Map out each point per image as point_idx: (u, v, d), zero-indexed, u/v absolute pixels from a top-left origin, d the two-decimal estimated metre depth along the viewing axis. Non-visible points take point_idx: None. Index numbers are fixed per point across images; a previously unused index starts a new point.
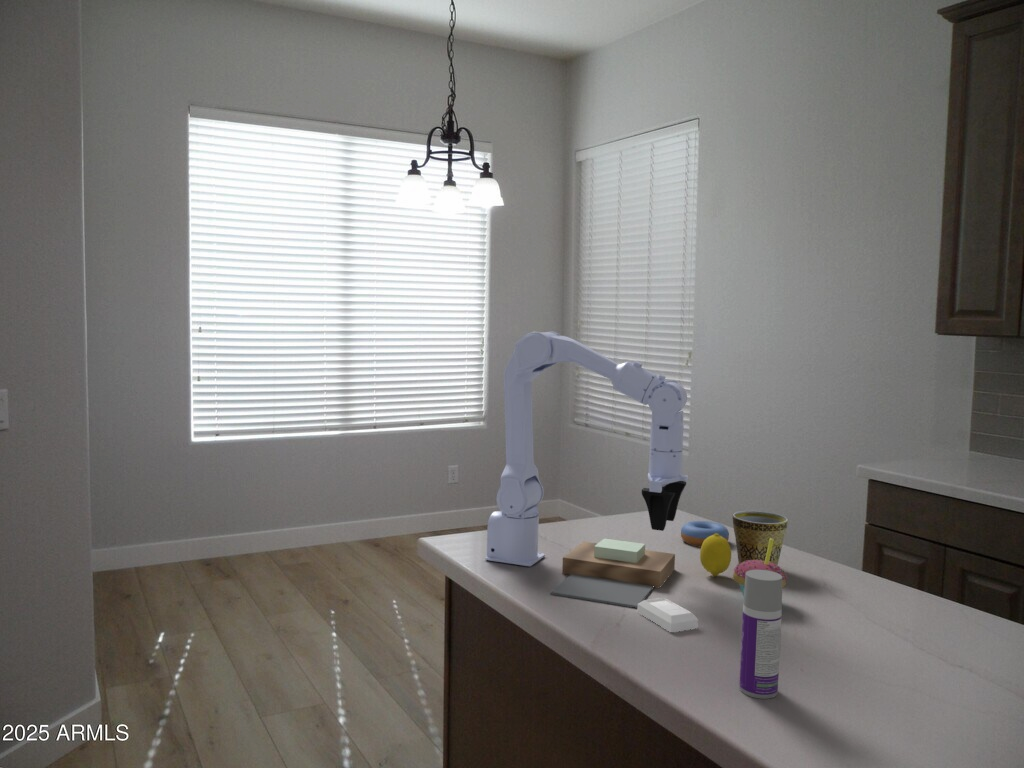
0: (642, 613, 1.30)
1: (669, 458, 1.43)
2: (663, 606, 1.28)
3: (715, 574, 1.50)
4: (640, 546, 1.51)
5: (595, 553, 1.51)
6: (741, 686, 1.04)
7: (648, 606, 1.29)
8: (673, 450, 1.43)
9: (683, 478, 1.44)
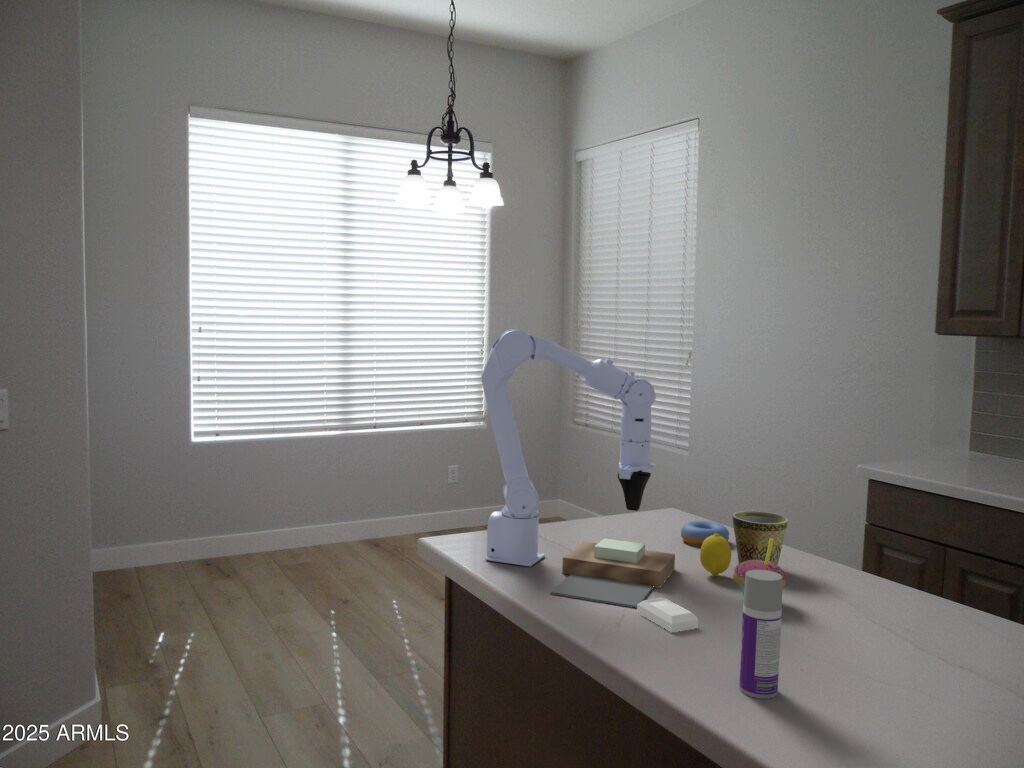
0: (642, 613, 1.30)
1: (638, 448, 1.55)
2: (663, 606, 1.28)
3: (715, 574, 1.50)
4: (640, 546, 1.51)
5: (595, 553, 1.51)
6: (741, 686, 1.04)
7: (648, 606, 1.29)
8: (647, 440, 1.56)
9: (651, 466, 1.56)
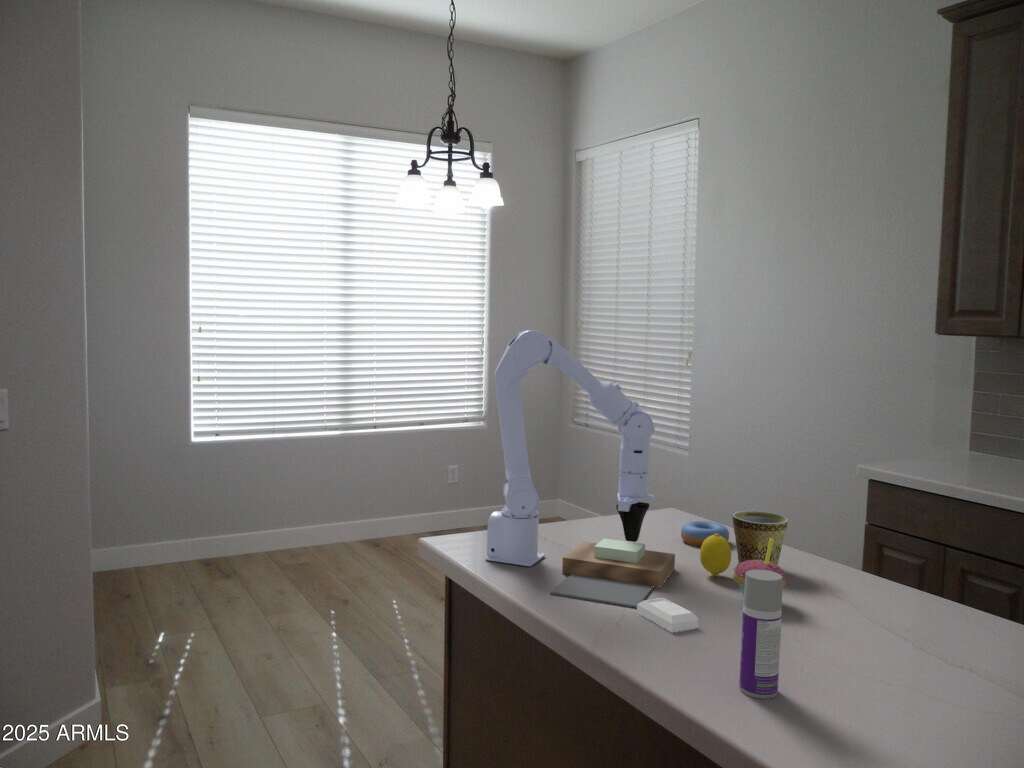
0: (642, 613, 1.30)
1: (636, 479, 1.56)
2: (663, 606, 1.28)
3: (715, 574, 1.50)
4: (640, 546, 1.51)
5: (595, 553, 1.51)
6: (741, 686, 1.04)
7: (648, 606, 1.29)
8: (645, 471, 1.56)
9: (649, 498, 1.56)
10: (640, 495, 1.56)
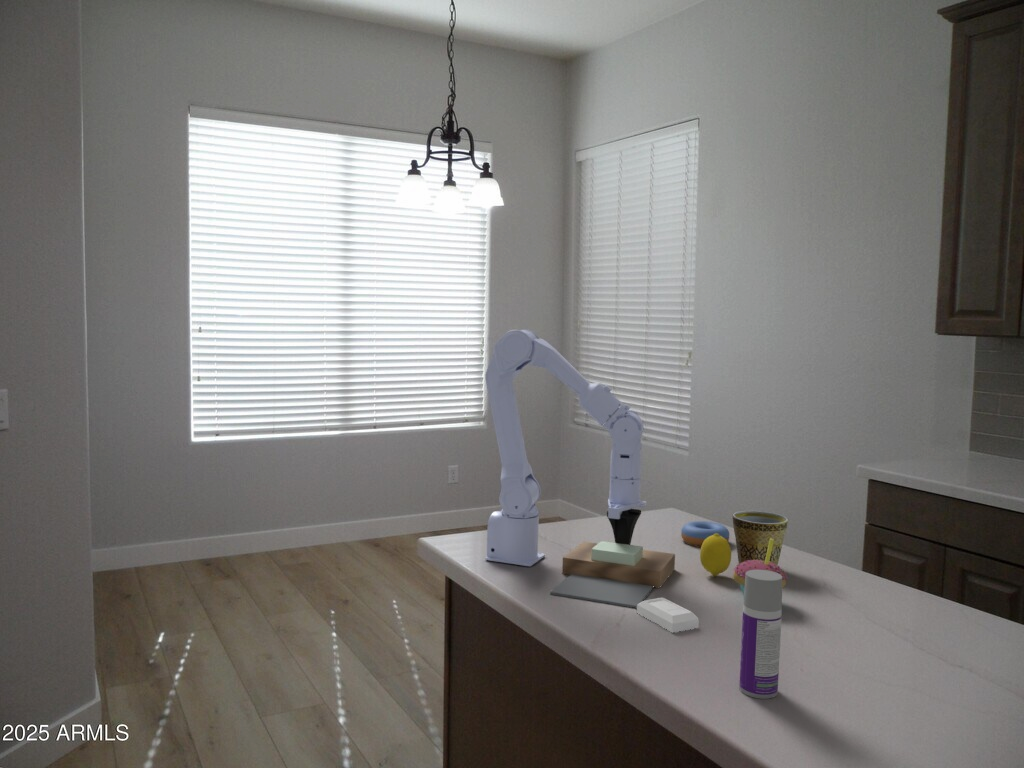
0: (642, 613, 1.30)
1: (628, 485, 1.50)
2: (663, 606, 1.28)
3: (715, 574, 1.50)
4: (638, 548, 1.50)
5: (592, 556, 1.49)
6: (741, 686, 1.04)
7: (648, 607, 1.28)
8: (633, 478, 1.50)
9: (641, 504, 1.51)
10: (631, 502, 1.50)
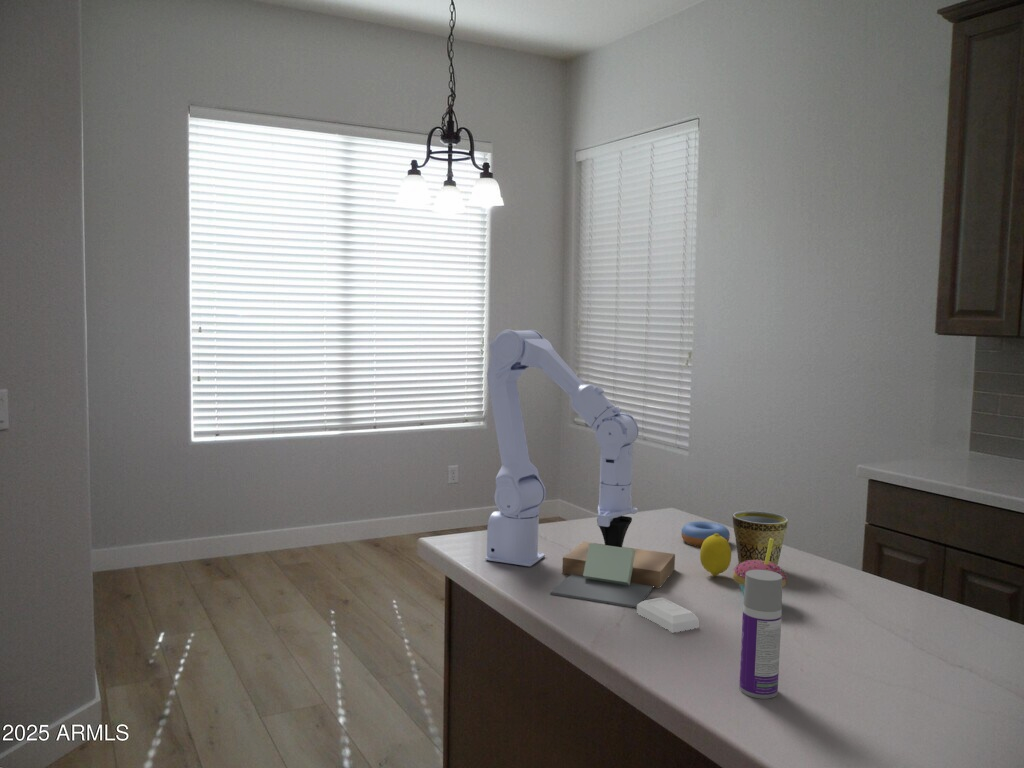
0: (642, 614, 1.29)
1: (618, 491, 1.44)
2: (663, 606, 1.28)
3: (715, 574, 1.50)
4: (629, 558, 1.43)
5: (586, 578, 1.45)
6: (741, 686, 1.04)
7: (648, 607, 1.28)
8: (619, 484, 1.44)
9: (632, 511, 1.45)
10: (622, 508, 1.44)
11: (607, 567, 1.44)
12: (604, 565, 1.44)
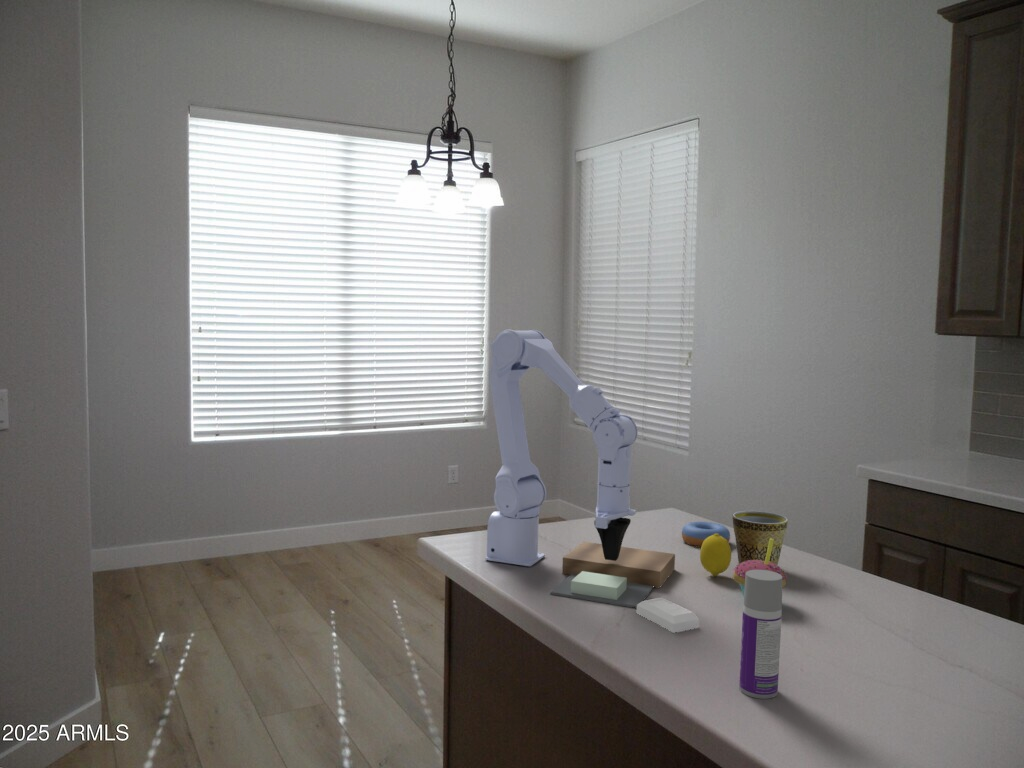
0: (642, 614, 1.29)
1: (616, 493, 1.43)
2: (663, 606, 1.28)
3: (715, 574, 1.50)
4: None
5: None
6: (741, 686, 1.04)
7: (648, 607, 1.28)
8: (616, 485, 1.43)
9: (630, 513, 1.44)
10: (620, 510, 1.43)
11: None
12: None
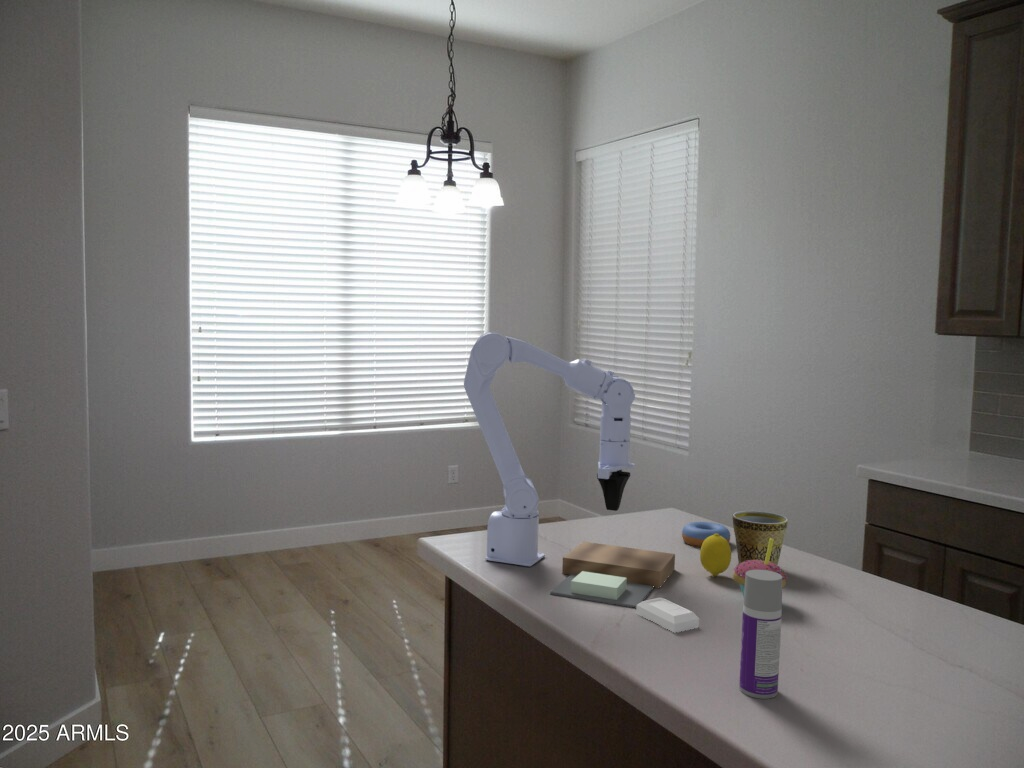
0: (642, 614, 1.29)
1: (617, 447, 1.55)
2: (663, 606, 1.28)
3: (715, 574, 1.50)
4: None
5: None
6: (741, 686, 1.04)
7: (648, 607, 1.28)
8: (626, 440, 1.55)
9: (630, 466, 1.56)
10: (620, 463, 1.55)
11: None
12: None
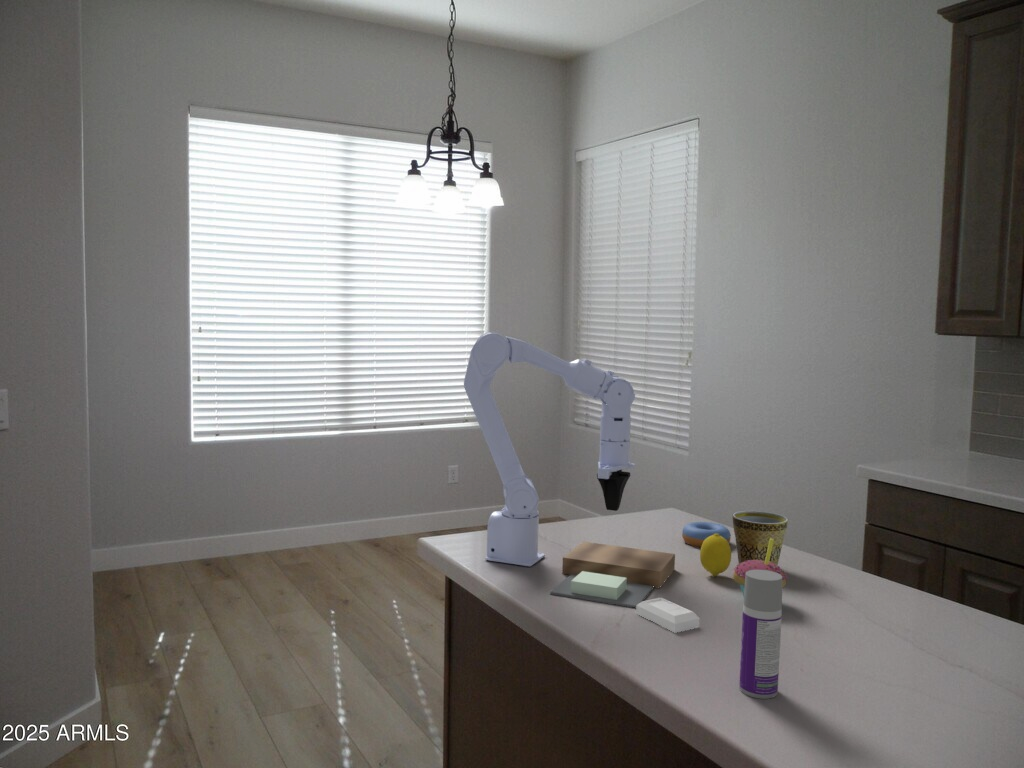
0: (642, 614, 1.29)
1: (617, 447, 1.55)
2: (663, 606, 1.28)
3: (715, 574, 1.50)
4: None
5: None
6: (741, 686, 1.04)
7: (648, 607, 1.28)
8: (626, 440, 1.55)
9: (630, 466, 1.56)
10: (620, 463, 1.55)
11: None
12: None
